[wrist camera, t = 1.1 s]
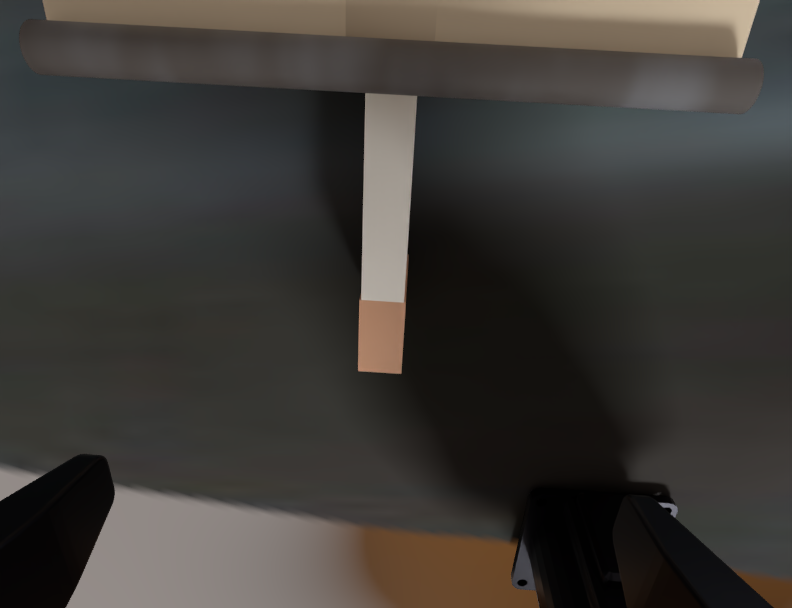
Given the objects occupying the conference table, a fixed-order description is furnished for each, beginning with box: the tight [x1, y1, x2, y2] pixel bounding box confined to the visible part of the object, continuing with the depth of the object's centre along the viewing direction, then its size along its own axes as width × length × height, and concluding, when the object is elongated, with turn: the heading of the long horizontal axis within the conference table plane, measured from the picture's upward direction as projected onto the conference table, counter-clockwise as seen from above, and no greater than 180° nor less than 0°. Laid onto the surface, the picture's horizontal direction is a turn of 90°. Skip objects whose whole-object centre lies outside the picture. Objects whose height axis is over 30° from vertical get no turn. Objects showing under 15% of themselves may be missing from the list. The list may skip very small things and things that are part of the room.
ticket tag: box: [358, 93, 417, 374], centre depth 14 cm, size 16×1×4 cm, turn 177°
